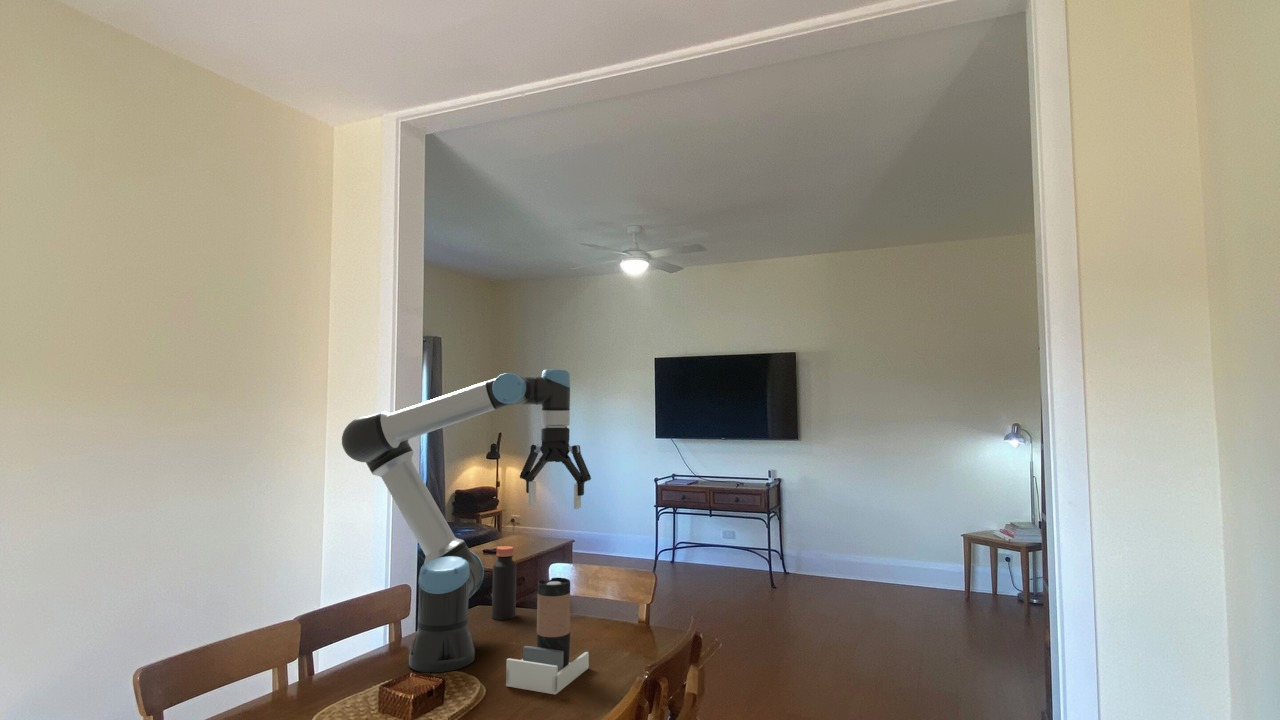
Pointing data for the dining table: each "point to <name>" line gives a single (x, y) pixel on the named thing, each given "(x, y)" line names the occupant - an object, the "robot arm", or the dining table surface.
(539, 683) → the white open box
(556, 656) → the block
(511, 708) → the dining table surface
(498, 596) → the bottle
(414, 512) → the robot arm
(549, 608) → the travel mug
